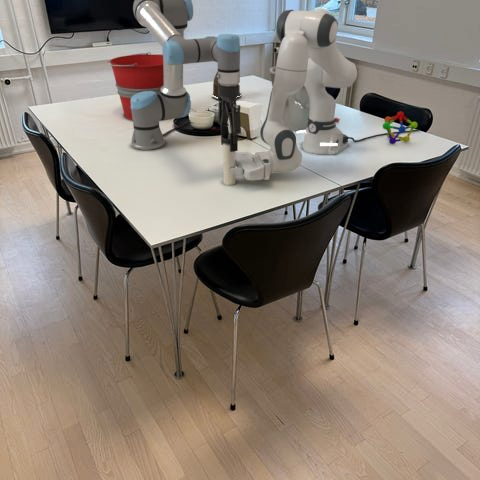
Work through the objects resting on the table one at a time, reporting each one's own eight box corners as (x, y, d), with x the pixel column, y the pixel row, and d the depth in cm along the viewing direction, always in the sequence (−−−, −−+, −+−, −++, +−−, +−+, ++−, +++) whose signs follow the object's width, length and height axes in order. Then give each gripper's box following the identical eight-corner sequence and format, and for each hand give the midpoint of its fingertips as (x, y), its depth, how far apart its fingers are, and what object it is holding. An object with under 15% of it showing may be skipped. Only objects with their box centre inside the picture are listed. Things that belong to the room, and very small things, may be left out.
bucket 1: (123, 105, 263) (116, 51, 247) (182, 106, 262) (179, 52, 247) (107, 123, 234) (97, 63, 218) (173, 124, 233) (168, 64, 217)
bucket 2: (296, 138, 215) (301, 78, 201) (255, 124, 234) (256, 68, 219) (335, 125, 232) (342, 70, 217) (294, 113, 251) (297, 61, 236)
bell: (227, 105, 294) (202, 96, 282) (238, 66, 289) (213, 55, 277) (243, 108, 280) (217, 98, 268) (255, 66, 275) (229, 55, 263)
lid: (219, 142, 163) (219, 137, 162) (228, 138, 166) (228, 133, 165) (229, 145, 160) (229, 140, 159) (239, 141, 163) (239, 136, 162)
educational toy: (377, 146, 209) (379, 114, 202) (384, 138, 219) (386, 107, 211) (411, 149, 202) (415, 116, 195) (417, 141, 212) (420, 109, 204)
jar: (235, 185, 170) (235, 141, 161) (223, 185, 170) (222, 141, 160) (235, 179, 174) (235, 136, 165) (223, 180, 174) (222, 136, 164)
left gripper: (207, 79, 158) (209, 140, 171) (231, 91, 143) (231, 158, 155) (226, 77, 161) (227, 138, 173) (251, 89, 146) (250, 155, 158)
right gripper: (252, 146, 179) (219, 150, 175) (271, 165, 162) (235, 169, 158) (252, 161, 182) (219, 165, 178) (270, 181, 165) (235, 185, 162)
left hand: (229, 147), depth 164 cm, fingers open, 7 cm apart
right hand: (227, 167), depth 168 cm, fingers closed on jar, 5 cm apart
